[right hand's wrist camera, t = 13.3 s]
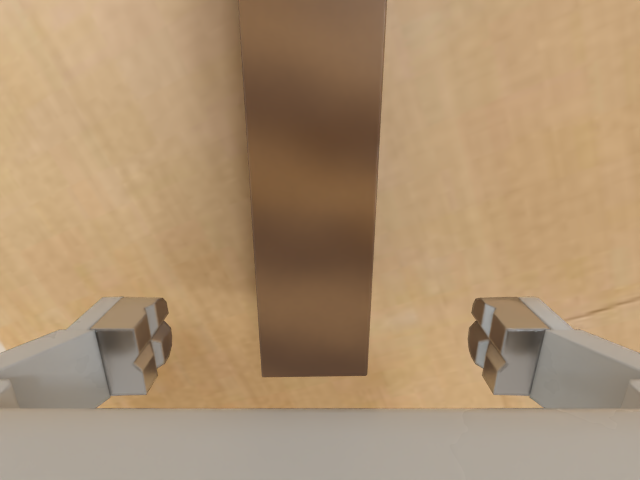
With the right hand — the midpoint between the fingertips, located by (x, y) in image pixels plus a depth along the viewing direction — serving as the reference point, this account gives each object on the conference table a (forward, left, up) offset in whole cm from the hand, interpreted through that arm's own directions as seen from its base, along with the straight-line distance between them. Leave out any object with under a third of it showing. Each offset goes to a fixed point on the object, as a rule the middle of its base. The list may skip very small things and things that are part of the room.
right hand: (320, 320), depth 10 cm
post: (+16, -18, -15) cm, 28 cm away
